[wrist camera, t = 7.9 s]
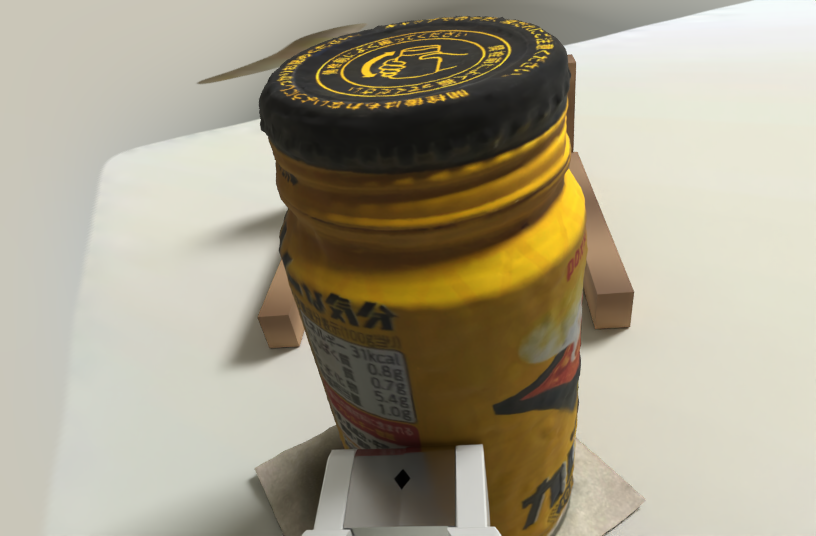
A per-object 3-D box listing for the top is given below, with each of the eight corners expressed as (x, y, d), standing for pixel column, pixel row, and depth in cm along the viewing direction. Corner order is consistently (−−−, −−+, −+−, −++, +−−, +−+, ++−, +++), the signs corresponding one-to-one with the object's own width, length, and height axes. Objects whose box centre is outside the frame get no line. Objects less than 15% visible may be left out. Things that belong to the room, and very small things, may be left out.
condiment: (645, 504, 15) (732, 28, 8) (364, 719, 12) (117, 266, 5) (480, 351, 20) (445, -14, 13) (257, 474, 18) (66, 90, 11)
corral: (630, 326, 20) (648, 175, 17) (269, 348, 22) (217, 215, 19) (572, 169, 30) (575, 53, 27) (325, 193, 32) (298, 87, 28)
